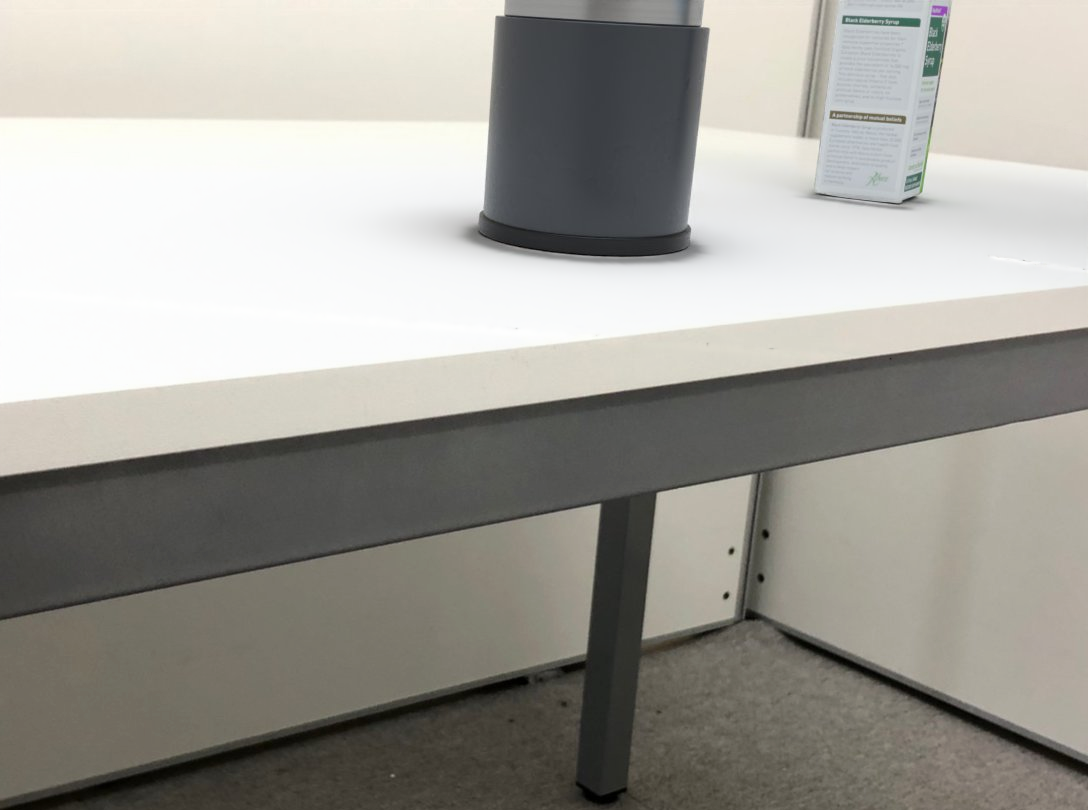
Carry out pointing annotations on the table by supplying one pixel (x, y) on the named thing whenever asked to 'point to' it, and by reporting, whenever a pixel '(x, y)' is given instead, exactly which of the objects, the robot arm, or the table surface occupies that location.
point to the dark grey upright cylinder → (594, 125)
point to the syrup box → (881, 98)
